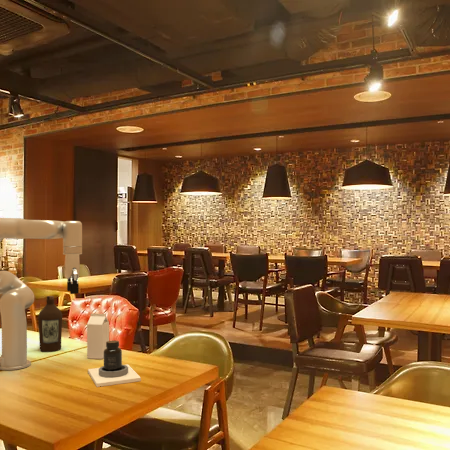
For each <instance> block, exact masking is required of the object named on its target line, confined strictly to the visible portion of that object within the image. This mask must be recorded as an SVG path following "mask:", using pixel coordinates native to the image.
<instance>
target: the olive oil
mask: <svg viewBox="0 0 450 450" xmlns="http://www.w3.org/2000/svg"><path fill="white" fill-rule="evenodd" d="M38 313H39V314H38V317H37V318H38V319H37V320H38V322H37V323H38V336H39V351H40V352H42V353H53V352H58V351H60V350H61V349H62V332H63V330H62V328H63V313H62V311H61V310H60V308H58V307H57V305H56V304H55V296H54V295H47V296H46V304H45V306H44V307H43V308H42V309H41V310H40V311H39V312H38Z"/></svg>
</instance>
